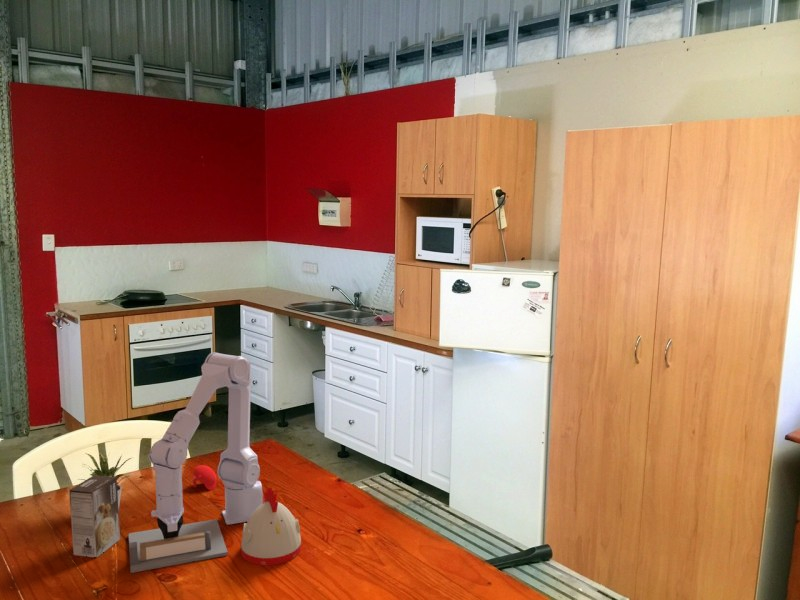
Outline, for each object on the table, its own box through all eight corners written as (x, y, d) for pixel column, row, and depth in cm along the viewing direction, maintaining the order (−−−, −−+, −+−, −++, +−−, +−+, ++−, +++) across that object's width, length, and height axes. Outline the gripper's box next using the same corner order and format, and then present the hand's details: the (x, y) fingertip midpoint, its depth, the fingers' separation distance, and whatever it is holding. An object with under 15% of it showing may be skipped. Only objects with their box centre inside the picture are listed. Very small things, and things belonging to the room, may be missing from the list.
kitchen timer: (250, 570, 152) (249, 506, 150) (234, 543, 164) (233, 483, 162) (309, 556, 158) (308, 495, 156) (290, 531, 170) (289, 474, 168)
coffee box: (97, 536, 166) (94, 474, 164) (121, 539, 165) (118, 476, 163) (72, 555, 157) (68, 489, 155) (97, 558, 156) (93, 492, 154)
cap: (184, 476, 196) (192, 470, 192) (200, 463, 200) (208, 458, 196) (201, 498, 196) (209, 493, 192) (216, 485, 200) (225, 480, 196)
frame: (216, 522, 174) (216, 503, 174) (227, 555, 158) (227, 534, 157) (128, 536, 166) (127, 517, 166) (130, 573, 150) (129, 551, 149)
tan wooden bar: (204, 546, 159) (203, 532, 159) (205, 549, 158) (204, 534, 158) (140, 558, 154) (139, 543, 153) (140, 561, 153) (140, 546, 152)
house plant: (60, 517, 176) (57, 457, 174) (102, 497, 189) (99, 440, 186) (103, 528, 171) (99, 465, 168) (143, 505, 183) (140, 447, 181)
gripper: (148, 482, 161) (151, 536, 163) (152, 507, 148) (154, 565, 149) (180, 478, 164) (181, 531, 165) (186, 502, 150) (188, 559, 152)
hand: (171, 547), depth 158 cm, fingers closed
